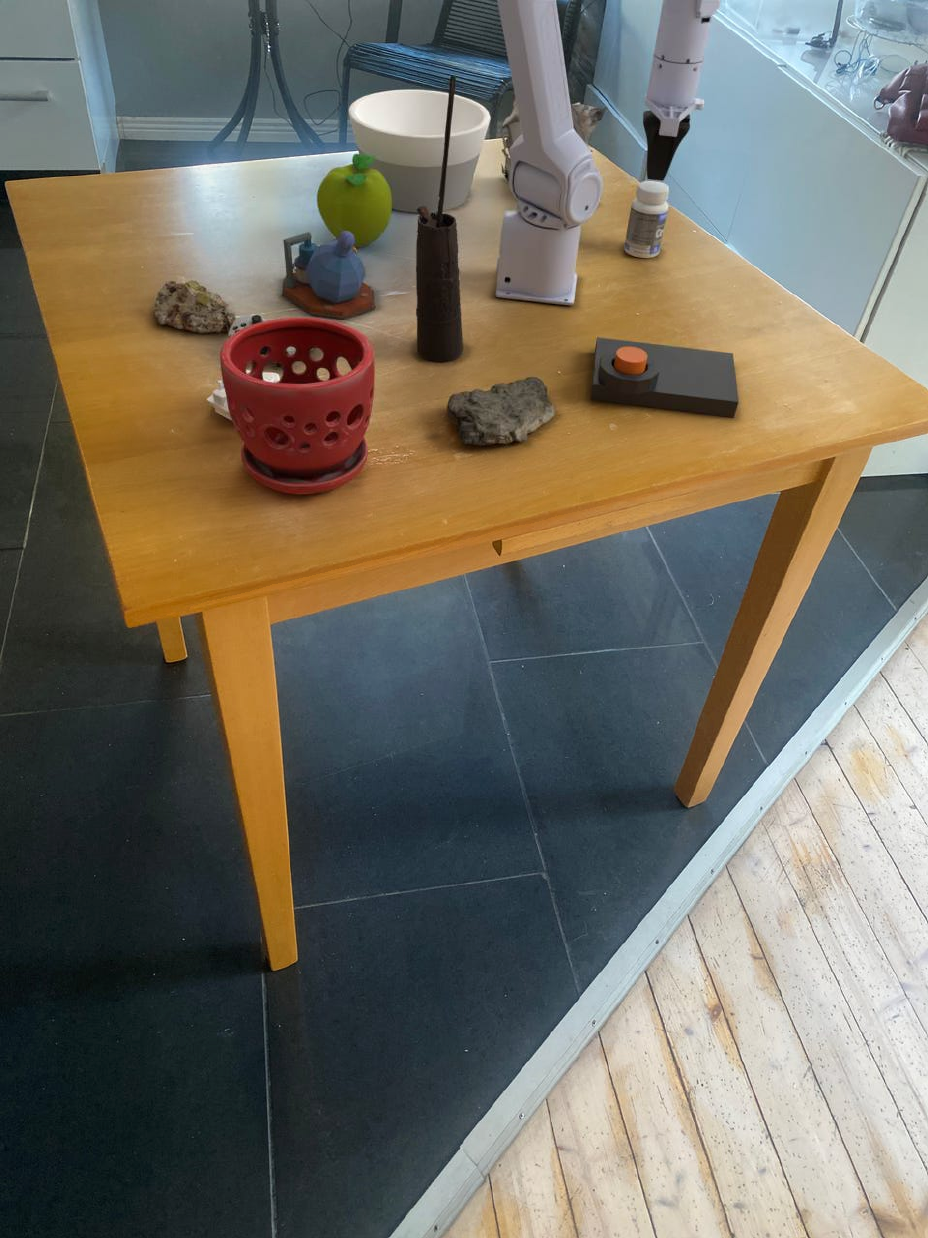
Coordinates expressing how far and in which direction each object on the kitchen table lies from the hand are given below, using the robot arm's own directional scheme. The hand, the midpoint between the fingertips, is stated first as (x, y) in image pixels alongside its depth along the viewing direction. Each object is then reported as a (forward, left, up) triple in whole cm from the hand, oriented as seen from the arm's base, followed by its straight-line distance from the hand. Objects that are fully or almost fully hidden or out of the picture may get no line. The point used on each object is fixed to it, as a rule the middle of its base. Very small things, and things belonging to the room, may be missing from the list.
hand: (655, 177), depth 119 cm
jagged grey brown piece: (-14, +16, -10) cm, 23 cm away
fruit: (-37, -7, -10) cm, 39 cm away
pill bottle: (0, 0, -10) cm, 10 cm away
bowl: (-32, +11, -10) cm, 35 cm away
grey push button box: (+2, -33, -9) cm, 34 cm away
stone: (-14, -44, -10) cm, 47 cm away
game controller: (-40, -36, -10) cm, 55 cm away
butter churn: (-23, -31, -10) cm, 40 cm away
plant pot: (-31, -55, -10) cm, 64 cm away
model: (-37, -22, -10) cm, 44 cm away
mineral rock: (-50, -31, -10) cm, 60 cm away
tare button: (-1, -36, -6) cm, 37 cm away
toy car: (-39, -47, -10) cm, 62 cm away
